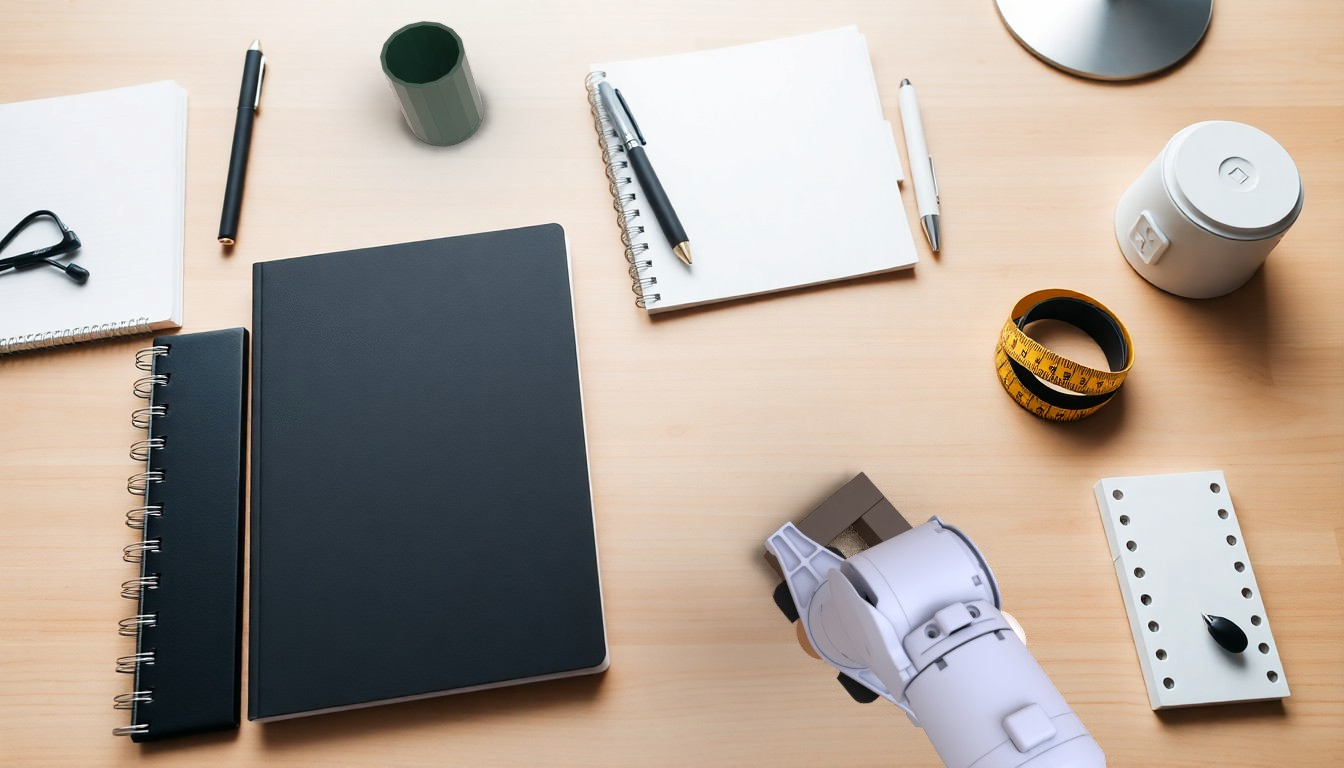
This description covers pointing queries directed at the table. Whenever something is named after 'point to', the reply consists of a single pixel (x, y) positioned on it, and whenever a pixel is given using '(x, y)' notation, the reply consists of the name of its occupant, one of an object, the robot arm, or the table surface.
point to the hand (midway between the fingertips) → (828, 630)
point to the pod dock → (851, 517)
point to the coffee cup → (433, 82)
